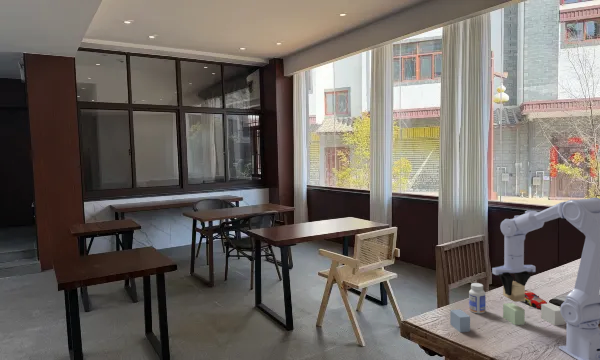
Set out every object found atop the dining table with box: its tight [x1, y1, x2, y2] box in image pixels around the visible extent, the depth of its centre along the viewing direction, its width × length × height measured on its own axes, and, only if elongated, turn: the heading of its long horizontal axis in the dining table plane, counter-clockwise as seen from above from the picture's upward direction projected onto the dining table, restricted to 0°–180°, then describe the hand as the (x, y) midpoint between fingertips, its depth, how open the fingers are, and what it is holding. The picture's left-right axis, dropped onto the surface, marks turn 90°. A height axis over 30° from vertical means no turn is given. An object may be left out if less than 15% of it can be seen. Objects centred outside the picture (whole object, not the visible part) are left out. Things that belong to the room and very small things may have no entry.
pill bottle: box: [468, 282, 487, 315], centre depth 142 cm, size 5×5×10 cm
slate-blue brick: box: [449, 308, 471, 333], centre depth 129 cm, size 6×4×5 cm, turn 8°
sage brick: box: [502, 302, 526, 326], centre depth 133 cm, size 6×4×5 cm, turn 8°
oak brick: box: [502, 280, 526, 303], centre depth 132 cm, size 6×4×5 cm, turn 8°
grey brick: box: [540, 302, 565, 327], centre depth 132 cm, size 6×4×5 cm, turn 8°
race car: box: [520, 289, 548, 309], centre depth 148 cm, size 13×5×4 cm, turn 15°
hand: (513, 293), depth 133 cm, fingers closed on oak brick, 3 cm apart
